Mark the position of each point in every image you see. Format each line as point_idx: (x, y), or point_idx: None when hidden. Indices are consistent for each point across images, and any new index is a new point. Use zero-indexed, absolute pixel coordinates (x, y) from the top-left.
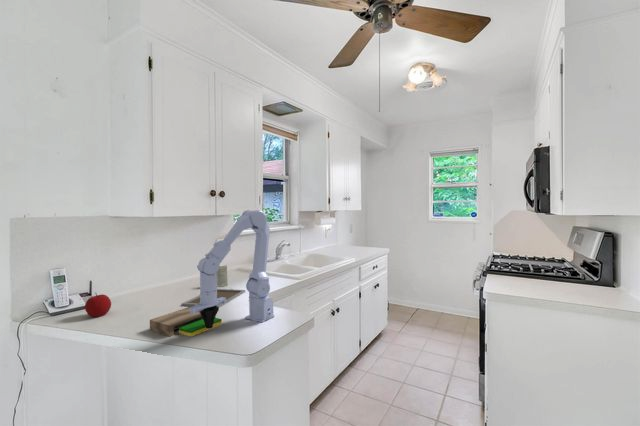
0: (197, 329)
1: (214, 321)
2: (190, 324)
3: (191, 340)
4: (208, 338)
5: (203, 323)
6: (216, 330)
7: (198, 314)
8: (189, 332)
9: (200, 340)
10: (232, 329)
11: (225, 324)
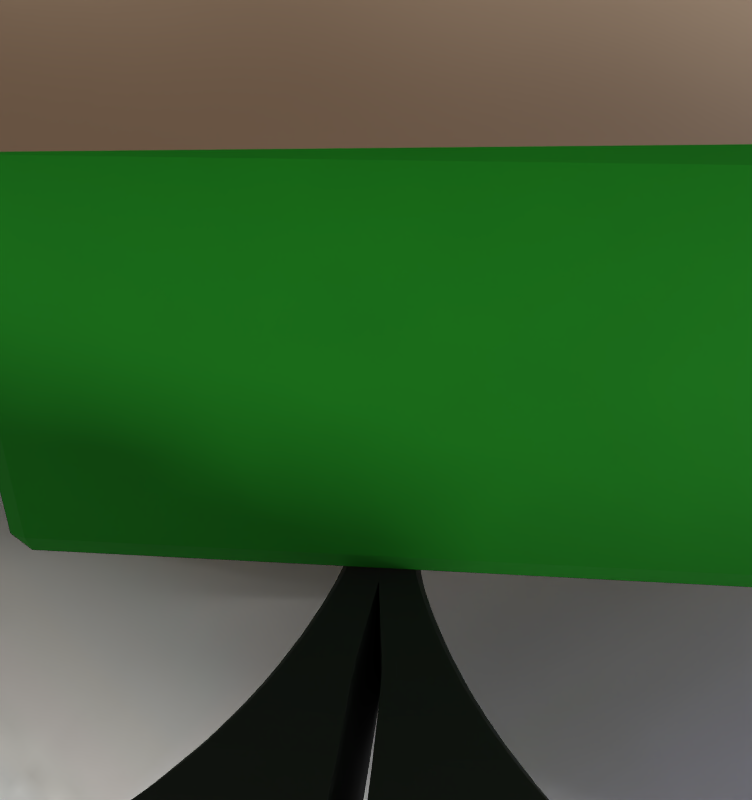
0: (163, 551)
1: (611, 556)
2: (208, 214)
3: (13, 599)
4: (199, 731)
5: (413, 443)
6: (453, 645)
7: (600, 74)
8: (14, 512)
9: (97, 692)
10: (588, 796)
11: (735, 600)
